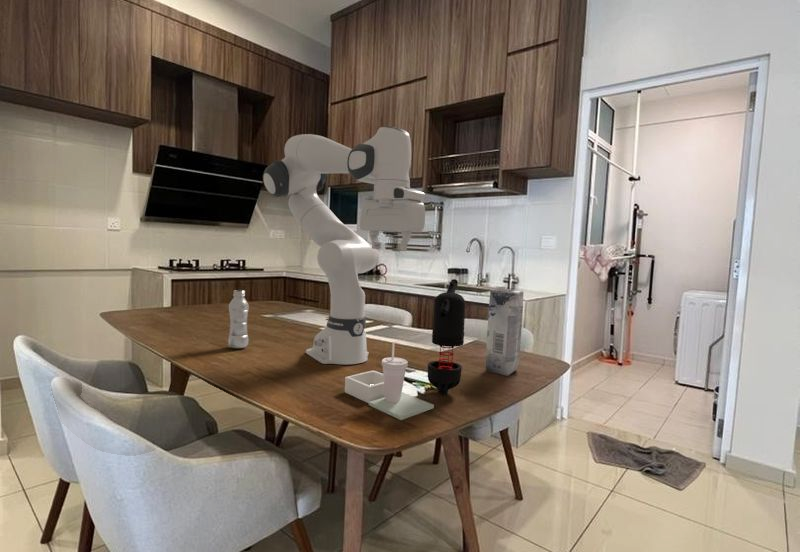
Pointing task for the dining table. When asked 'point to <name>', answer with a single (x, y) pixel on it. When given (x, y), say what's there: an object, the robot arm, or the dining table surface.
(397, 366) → the smoothie
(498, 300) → the juice carton
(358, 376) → the shallow white tray
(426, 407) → the coaster
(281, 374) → the dining table surface
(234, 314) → the plastic bottle
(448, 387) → the filter
